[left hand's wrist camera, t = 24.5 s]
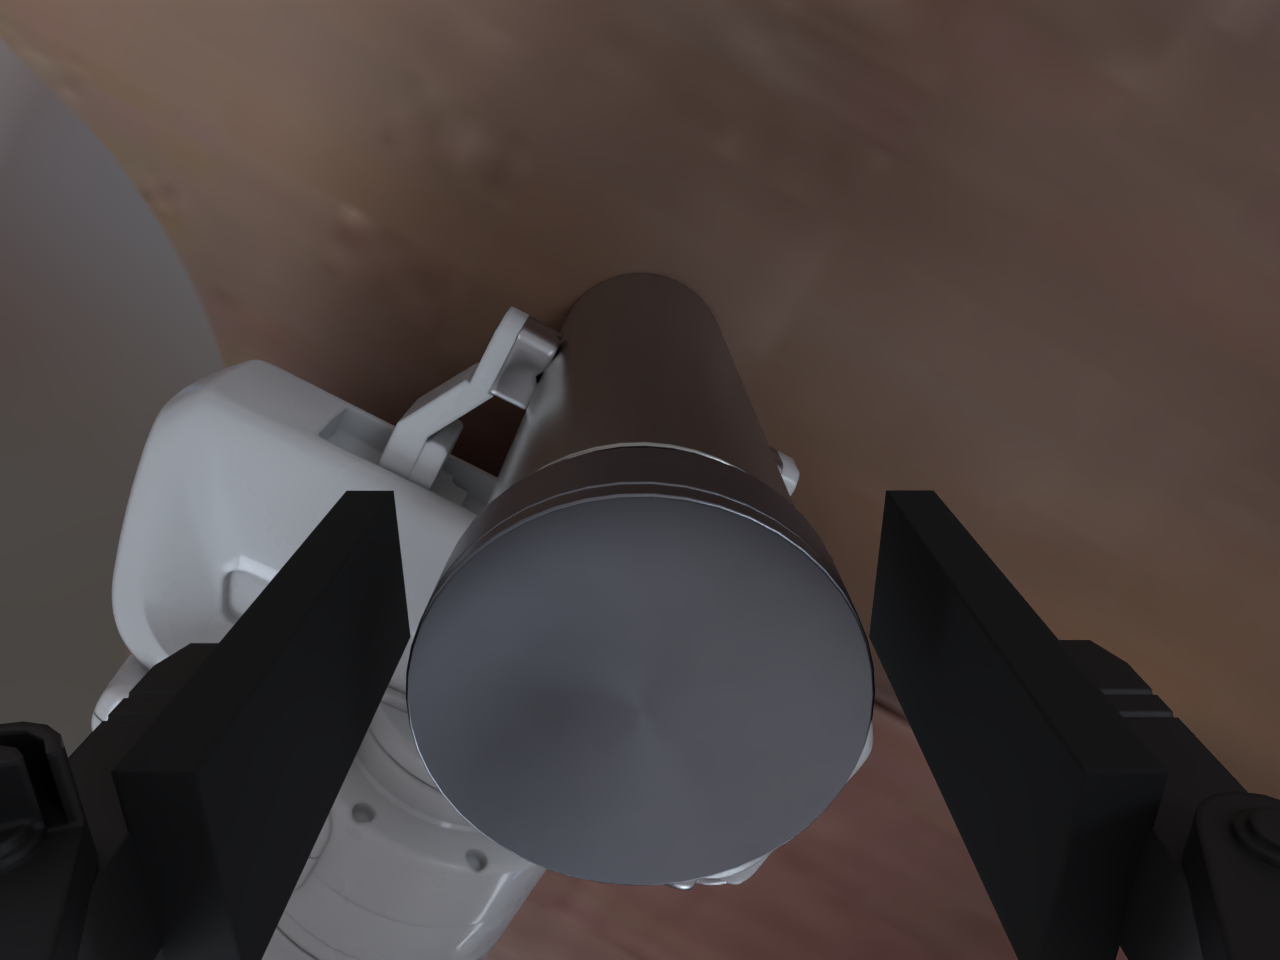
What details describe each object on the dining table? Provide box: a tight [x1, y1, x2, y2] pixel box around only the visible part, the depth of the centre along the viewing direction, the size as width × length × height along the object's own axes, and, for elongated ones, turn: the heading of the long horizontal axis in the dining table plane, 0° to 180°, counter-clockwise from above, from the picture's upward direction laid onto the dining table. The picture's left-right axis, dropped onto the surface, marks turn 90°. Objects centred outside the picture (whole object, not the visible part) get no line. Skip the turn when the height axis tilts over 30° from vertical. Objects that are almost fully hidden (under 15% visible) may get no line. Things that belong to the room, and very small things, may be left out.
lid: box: [406, 448, 875, 885], centre depth 11 cm, size 6×6×2 cm
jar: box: [485, 273, 794, 508], centre depth 19 cm, size 5×5×18 cm
